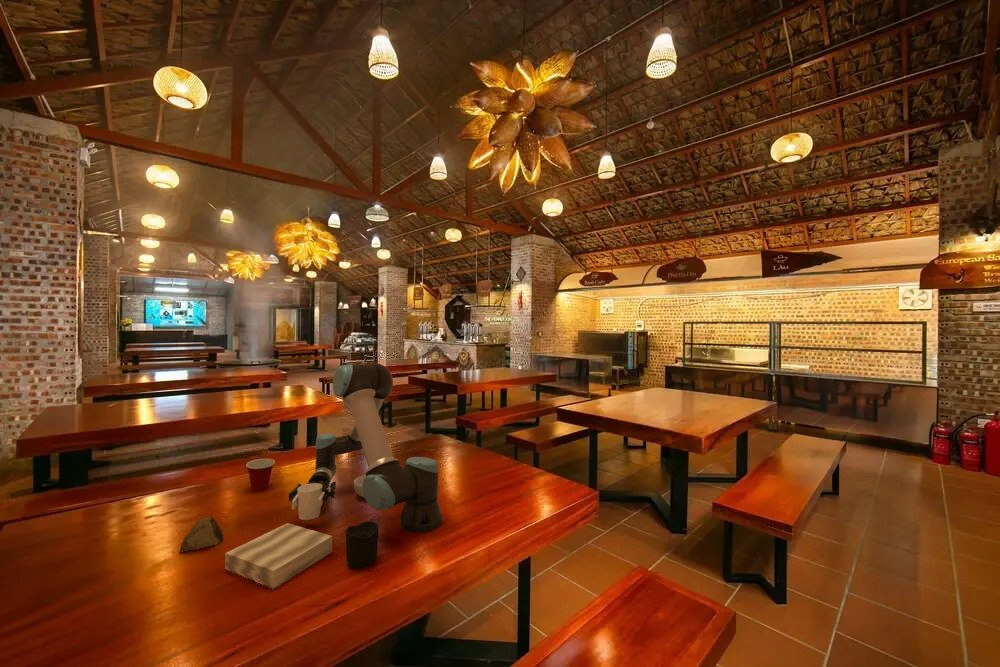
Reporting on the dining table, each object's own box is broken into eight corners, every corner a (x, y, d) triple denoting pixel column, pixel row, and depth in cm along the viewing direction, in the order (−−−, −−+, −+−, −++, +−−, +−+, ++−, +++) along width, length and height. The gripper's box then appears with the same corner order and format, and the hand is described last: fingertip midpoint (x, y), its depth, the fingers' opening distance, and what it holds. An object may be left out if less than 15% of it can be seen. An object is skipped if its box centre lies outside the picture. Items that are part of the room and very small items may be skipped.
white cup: (326, 513, 140) (327, 485, 141) (307, 522, 133) (308, 493, 133) (311, 509, 144) (311, 481, 144) (291, 518, 137) (292, 489, 137)
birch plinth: (332, 552, 124) (332, 536, 124) (273, 589, 105) (273, 570, 105) (287, 538, 131) (287, 523, 131) (225, 570, 113) (225, 553, 113)
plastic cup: (251, 497, 163) (252, 468, 163) (241, 490, 170) (241, 462, 170) (278, 489, 172) (279, 461, 172) (268, 483, 178) (268, 456, 178)
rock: (168, 551, 119) (203, 545, 119) (177, 520, 124) (211, 515, 125) (190, 556, 127) (223, 551, 128) (199, 527, 132) (230, 522, 133)
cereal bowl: (378, 484, 179) (379, 469, 179) (403, 493, 169) (403, 477, 169) (345, 496, 165) (345, 479, 165) (369, 507, 156) (369, 489, 156)
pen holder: (352, 552, 124) (353, 520, 124) (382, 553, 123) (382, 521, 123) (339, 570, 114) (340, 535, 114) (371, 571, 114) (372, 536, 114)
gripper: (347, 487, 158) (338, 512, 136) (292, 492, 154) (272, 518, 131) (348, 469, 159) (338, 490, 136) (292, 472, 154) (273, 495, 132)
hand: (306, 504), depth 134 cm, fingers closed on white cup, 8 cm apart
